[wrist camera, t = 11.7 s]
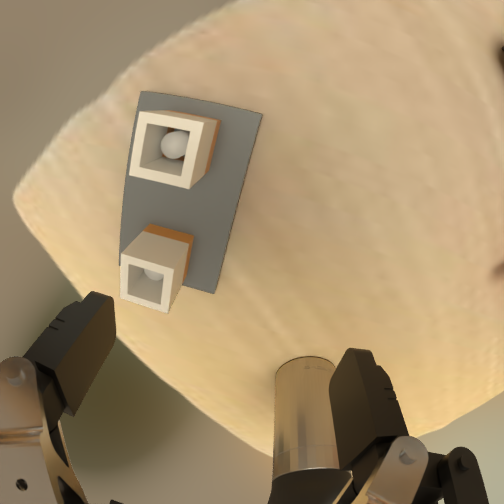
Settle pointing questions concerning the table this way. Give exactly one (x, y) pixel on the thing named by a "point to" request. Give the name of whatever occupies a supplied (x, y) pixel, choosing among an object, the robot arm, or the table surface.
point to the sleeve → (166, 169)
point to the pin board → (183, 208)
